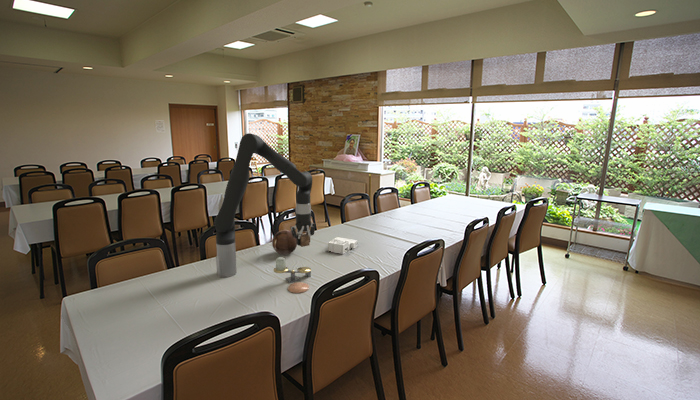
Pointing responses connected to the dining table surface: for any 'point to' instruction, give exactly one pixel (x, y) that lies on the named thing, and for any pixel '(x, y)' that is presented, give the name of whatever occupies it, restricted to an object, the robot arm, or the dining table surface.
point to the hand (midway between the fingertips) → (303, 244)
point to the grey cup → (280, 264)
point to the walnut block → (305, 240)
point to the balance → (293, 277)
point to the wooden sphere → (284, 242)
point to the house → (341, 245)
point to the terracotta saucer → (298, 287)
